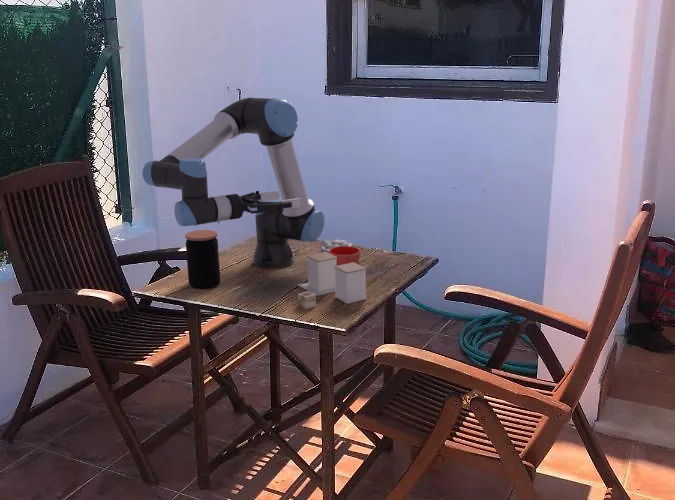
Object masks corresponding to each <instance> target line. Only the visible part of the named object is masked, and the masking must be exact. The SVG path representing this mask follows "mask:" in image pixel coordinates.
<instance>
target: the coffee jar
mask: <svg viewBox="0 0 675 500" xmlns="http://www.w3.org/2000/svg"><path fill="white" fill-rule="evenodd" d="M184 237H185V239H186V241H185V253H186V264H187V277H188V285H190V287H191V288H193V289H196V290H210V289H213V288H217V287H218V286H219V284H220V282H221V271H220V270H221V269H220V255H219V254H220V253H219V241H218V238H217V237H218V232H217V231H215V230H211V229H198V230H197V229H196V230H193V231H189V232H187V233H185V236H184Z"/></svg>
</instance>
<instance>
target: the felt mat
mask: <svg viewBox="0 0 675 500" xmlns="http://www.w3.org/2000/svg"><path fill="white" fill-rule="evenodd" d="M298 287H300V288H302V289H304V290H306V291H309V292H311V293H314V294H316V297H319V296H322V295H326V294H331V293H334V292H335V293H336V287H335V288H331V289H326V290H322V291H318V290H316V289H314V288H312V287H311V286H309V285H308V282H304V283H300V284H298Z"/></svg>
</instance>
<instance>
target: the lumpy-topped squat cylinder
mask: <svg viewBox="0 0 675 500" xmlns="http://www.w3.org/2000/svg"><path fill="white" fill-rule="evenodd" d="M339 246H350V247H353V243H352V242H349V241H347V240H343V239H342V240H341V239H335V238H334V239H332V240H331V241H330V240H324V242H323V243H322V245H321V246H320V253H322V252H327V253H329V250H330V249H331V248H334V247H339Z"/></svg>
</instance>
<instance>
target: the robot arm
mask: <svg viewBox="0 0 675 500" xmlns="http://www.w3.org/2000/svg"><path fill="white" fill-rule="evenodd" d="M298 120H299V118H298V114H297V111H296V108H295V107H294V105H293V104H292V103H291V102H290V101H289V100H286V99H280V98H275V97H273V98H266V97H264V98H262V97H245V98H242V99H239V100H237V101H235V102H233V103H231V104H229V105H227V106H225V107H224V108H223V109H221V110H220V111H218V112H217V113H216V114H215V115H214V117H213V120H212V121H211V122H209V123H208V124H207V125H205V126H204V127H203V128H202V129H200V130H198V132H196V133H195V134H194V135H192V136H190V137H189V138H188V139H187V140H186V141H184V142H183V143H181V144H180V145H179V146H177V147H176V148H175V149H174V150H172V151H171V152H169V153H168V154H167V155H165V156H164V157H163V158H162V159H160V160H150V161H148V162H146V163H145V164H144V166H143V167H142V168H143V169H142V178H143V180H144V182H145V183H146V184H147V185H149V186H152V187H156V188H163V189H165V188H166V189H172V190H173V189H174V190H180V191H181V200H180V201H177V202H175V204H174V209H173V210H174V217H175V220H176V222H177V223H178V225H179V226H181V227H189V226H190V227H191V226H194V227H195V226H200V225H204V224H205V225H206V224H211V223H216V222H217V224H220V223H221V222H224V221H229V220H230V221H231V220H237V219H238V220H239V219H241V218H242V217H243V214H244V212H246V213H250V214H255V215H254V217H255V234H256V246H255V249H254V252H253V256H252V264H253V265H254V266H256V267H258V268H264V269H279V268H284V267H285V268H286V267H289V266H291V265H292V264H294V261H295V259H294V258H295V256H294V253H293V250H292V247H291V245H290V243H289V240H293V241H299V242H302V243H307V242H308V243H314V242H316V241H317V240H318V239H319V238H320V237H321V236H322V233H323V231H324V227H325V222H326V221H325V214H324V212H323V211H321V210H319V209H315V205H314V202H313V200H312V199H311V198H308V195H307V192H306V189H305V183H304V181H303V177H302V174H301V170H300V167H299V163H298V159H297V156H296V152H295V149H294V145H293V140H292V139H293V138H294V136H295V132H296V131H297V128H298V124H297V123H298ZM242 134H251V135H253V134H254V135H257V136H258V138H259V142H260V144H261V146H263V147H265V148H266V150H267V153H268V157H269V159H270V162H271V166H272V169H273V170H272V171H273V173H274V177H275V180H276V183H277V187H278V190H271V191H266V192H260V191H259V190H255V192H254V191H253V192H249V193H246V194H243V195H239V194H237V193H232V194H226V195H224V194H223V195H217V196H209V190H208V188H209V187H208V171H207V165H206V160H205V158H206V157H207V156H209V155H211V153H212V152H214V151H215V150H216V149H217V148H219V147H220V146H221V145H222V144H224V143H225V142H226V141H228V140H234V139H235V138H237V137H238V136H240V135H242ZM280 196H281V199H280Z"/></svg>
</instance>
